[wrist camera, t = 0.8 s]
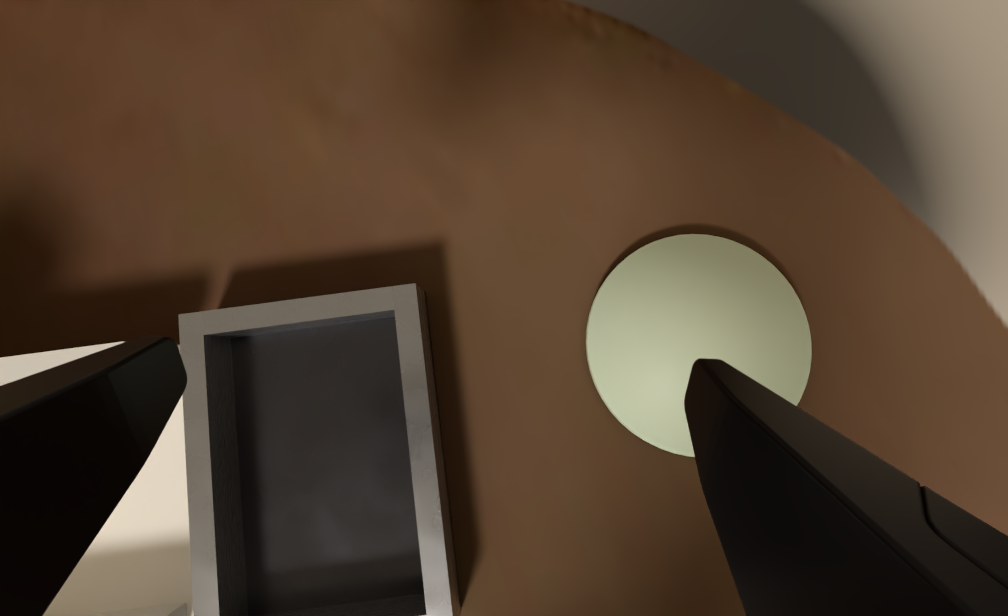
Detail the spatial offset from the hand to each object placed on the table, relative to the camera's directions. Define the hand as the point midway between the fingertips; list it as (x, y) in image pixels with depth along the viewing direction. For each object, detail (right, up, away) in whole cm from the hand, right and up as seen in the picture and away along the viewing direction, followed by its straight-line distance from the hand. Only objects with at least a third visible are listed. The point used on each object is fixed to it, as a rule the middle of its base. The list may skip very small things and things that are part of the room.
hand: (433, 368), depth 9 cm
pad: (+10, -1, +15) cm, 18 cm away
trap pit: (-6, -6, +14) cm, 16 cm away
